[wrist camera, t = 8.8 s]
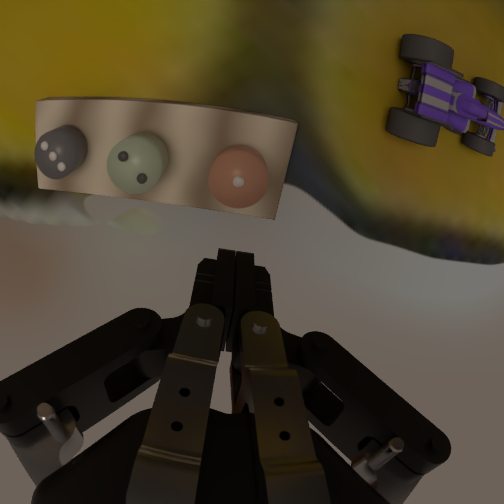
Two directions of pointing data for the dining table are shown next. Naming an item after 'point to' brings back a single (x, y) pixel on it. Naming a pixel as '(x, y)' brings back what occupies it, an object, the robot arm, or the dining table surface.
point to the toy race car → (444, 99)
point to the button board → (168, 146)
